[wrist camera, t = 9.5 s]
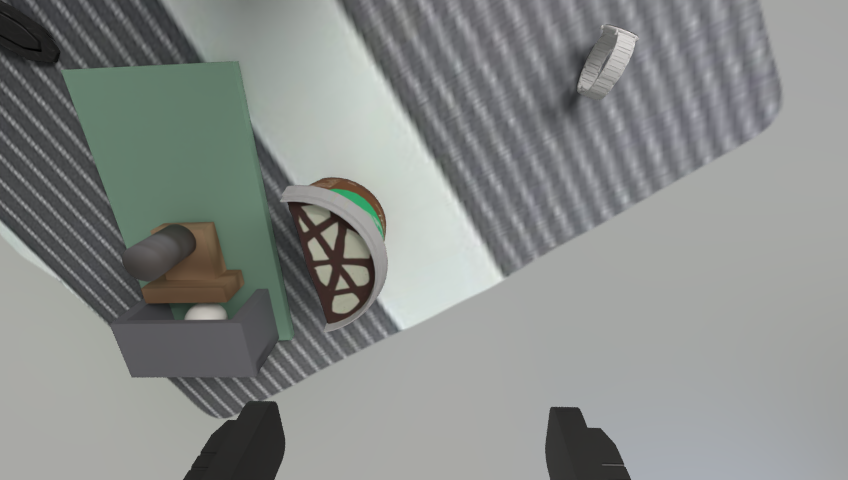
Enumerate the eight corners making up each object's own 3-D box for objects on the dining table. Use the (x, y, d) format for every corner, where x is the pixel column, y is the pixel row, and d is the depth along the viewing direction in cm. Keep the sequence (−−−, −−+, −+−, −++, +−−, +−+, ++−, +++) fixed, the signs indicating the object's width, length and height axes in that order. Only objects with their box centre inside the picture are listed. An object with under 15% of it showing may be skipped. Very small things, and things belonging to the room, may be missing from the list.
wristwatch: (623, 38, 32) (653, 33, 27) (592, 100, 34) (616, 106, 29) (591, 25, 32) (616, 18, 27) (561, 88, 34) (580, 92, 29)
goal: (153, 290, 42) (109, 324, 37) (268, 288, 42) (240, 323, 36) (170, 338, 45) (131, 377, 39) (279, 337, 44) (255, 377, 38)
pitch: (70, 69, 35) (61, 69, 34) (238, 61, 34) (232, 61, 33) (166, 335, 46) (160, 340, 45) (294, 334, 45) (291, 340, 44)
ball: (187, 348, 41) (204, 317, 44) (225, 348, 41) (239, 316, 44) (168, 325, 38) (187, 293, 41) (208, 325, 38) (225, 293, 41)
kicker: (147, 217, 39) (88, 247, 32) (227, 215, 38) (183, 245, 32) (169, 284, 42) (119, 324, 35) (244, 283, 41) (207, 323, 35)
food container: (409, 270, 41) (399, 328, 32) (351, 278, 42) (325, 338, 33) (383, 151, 36) (362, 179, 27) (318, 162, 37) (277, 194, 28)
